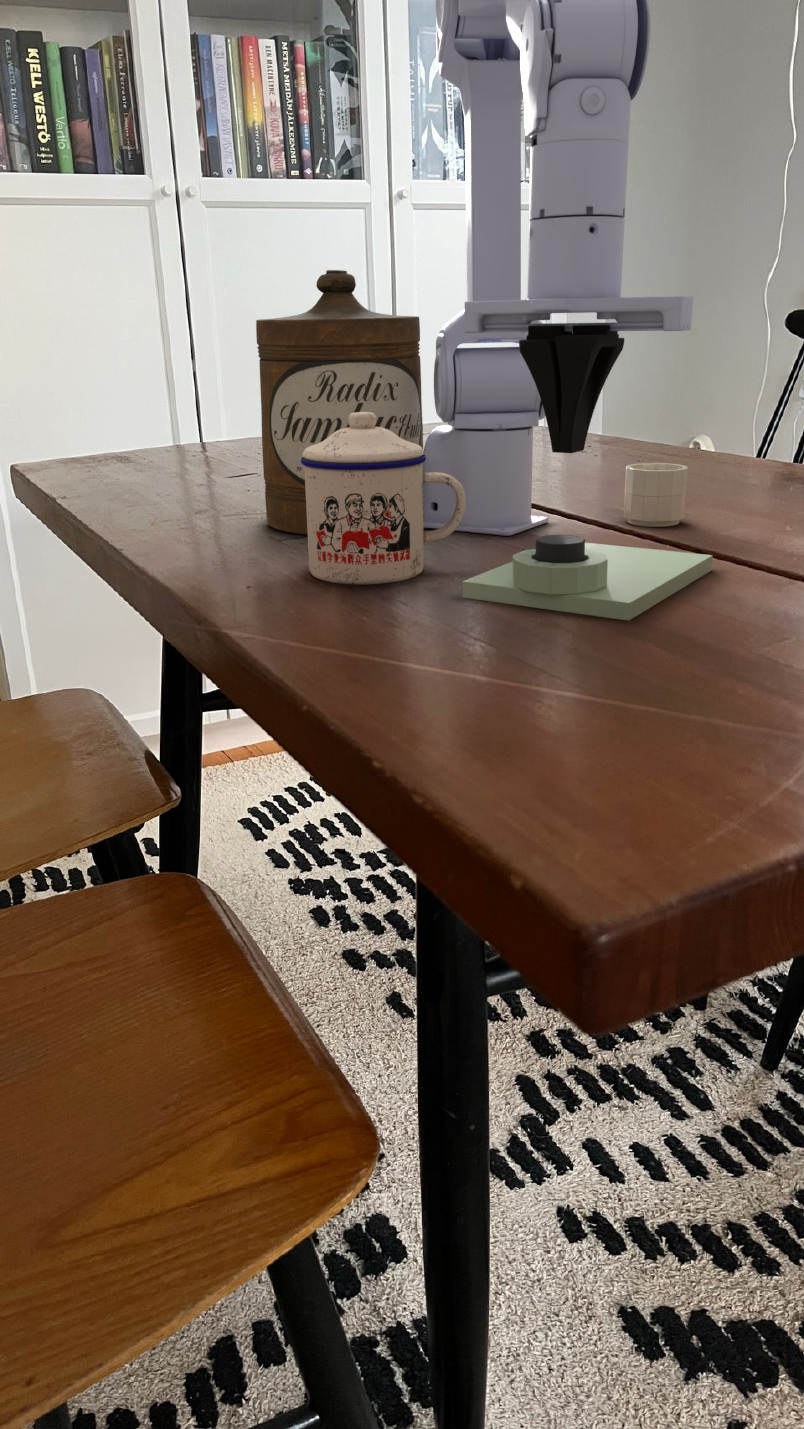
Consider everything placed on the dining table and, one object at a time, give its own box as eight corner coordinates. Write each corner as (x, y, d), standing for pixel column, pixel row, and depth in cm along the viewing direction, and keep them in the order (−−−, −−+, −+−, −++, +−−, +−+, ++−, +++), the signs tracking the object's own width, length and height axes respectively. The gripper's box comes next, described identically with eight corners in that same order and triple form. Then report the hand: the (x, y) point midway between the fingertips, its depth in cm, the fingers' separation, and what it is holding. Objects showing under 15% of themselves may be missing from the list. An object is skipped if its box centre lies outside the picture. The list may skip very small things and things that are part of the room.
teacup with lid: (302, 588, 75) (293, 419, 71) (310, 561, 84) (303, 409, 80) (469, 584, 75) (470, 416, 71) (461, 558, 84) (461, 406, 80)
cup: (613, 524, 96) (616, 468, 95) (636, 515, 101) (639, 461, 99) (671, 529, 93) (675, 472, 92) (692, 519, 98) (696, 464, 96)
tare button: (571, 569, 68) (572, 545, 67) (526, 564, 69) (527, 541, 69) (592, 560, 70) (593, 537, 70) (548, 555, 72) (549, 533, 71)
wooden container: (277, 541, 92) (262, 267, 84) (258, 512, 105) (243, 273, 97) (441, 531, 95) (442, 266, 87) (402, 504, 108) (399, 272, 100)
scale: (625, 623, 65) (628, 576, 64) (458, 600, 71) (458, 556, 70) (711, 571, 78) (715, 530, 77) (563, 555, 84) (564, 517, 83)
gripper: (439, 224, 64) (440, 452, 69) (668, 207, 57) (652, 465, 61) (495, 230, 70) (492, 441, 75) (711, 215, 62) (693, 451, 67)
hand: (568, 451), depth 68 cm, fingers closed
